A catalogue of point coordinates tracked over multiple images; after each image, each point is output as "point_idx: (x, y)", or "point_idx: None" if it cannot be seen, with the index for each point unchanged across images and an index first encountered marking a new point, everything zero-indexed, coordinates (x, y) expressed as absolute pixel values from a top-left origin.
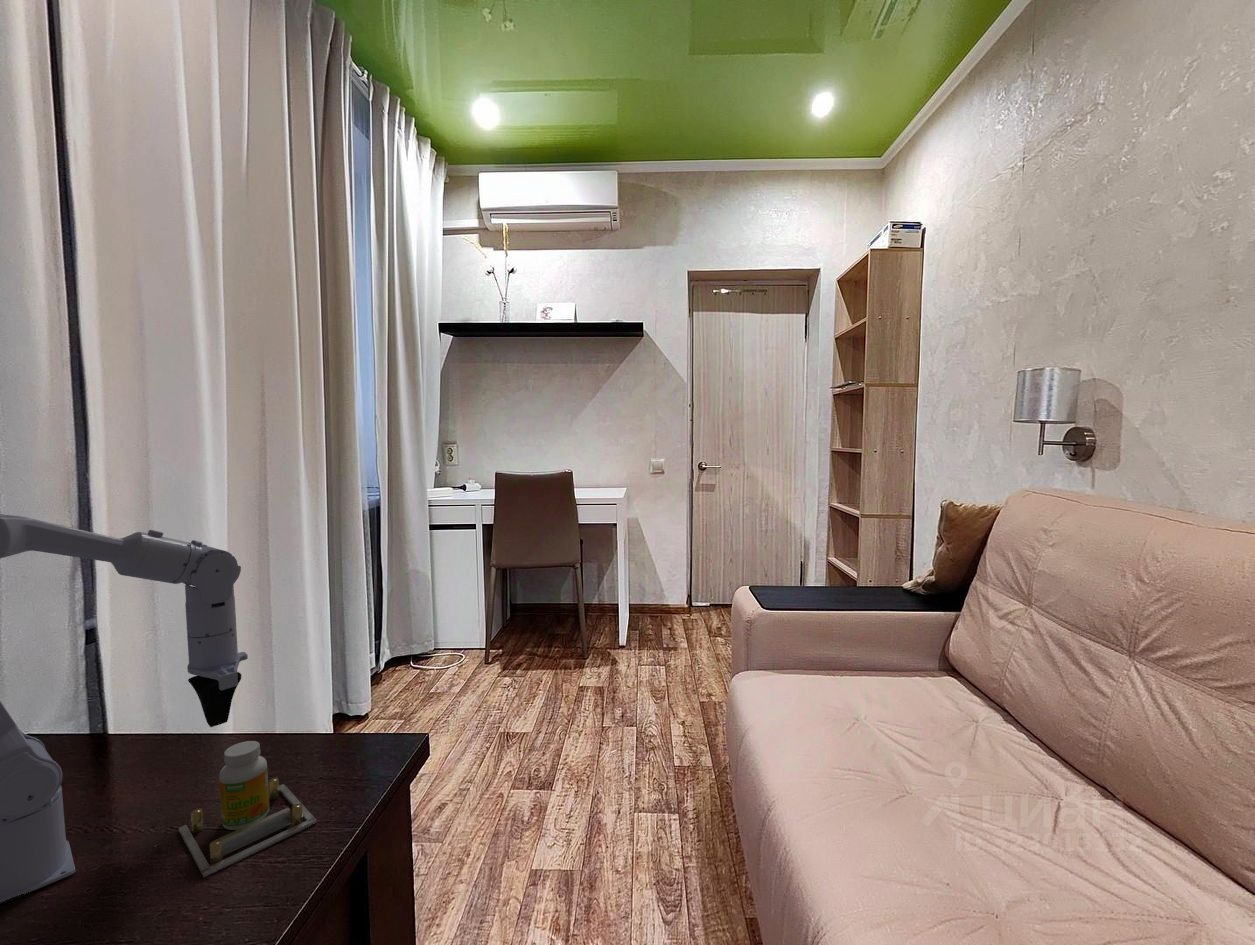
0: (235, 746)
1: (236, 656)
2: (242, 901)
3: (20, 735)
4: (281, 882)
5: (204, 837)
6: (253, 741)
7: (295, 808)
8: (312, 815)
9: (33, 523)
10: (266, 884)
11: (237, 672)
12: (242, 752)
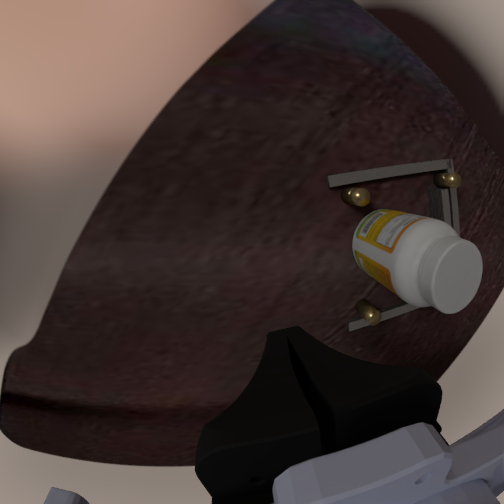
0: (443, 293)
1: (470, 499)
2: (500, 253)
3: None
4: (501, 218)
5: (386, 296)
6: (450, 253)
7: (460, 184)
8: (442, 160)
9: None
10: (496, 231)
11: (363, 411)
12: (474, 277)
